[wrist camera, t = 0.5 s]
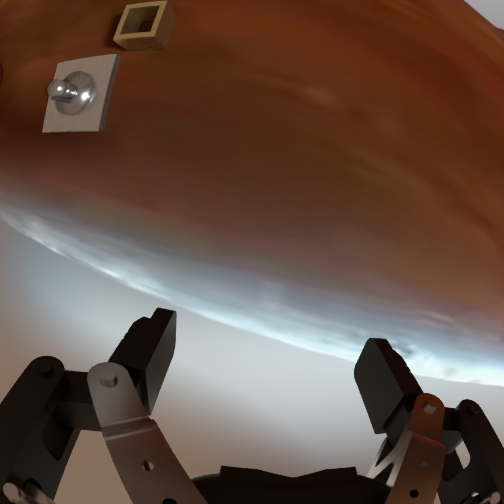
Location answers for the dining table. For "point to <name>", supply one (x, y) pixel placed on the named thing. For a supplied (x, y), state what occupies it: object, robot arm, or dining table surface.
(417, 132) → the dining table surface
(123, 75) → the dining table surface
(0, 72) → the frying pan
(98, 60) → the shaft stand
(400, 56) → the dining table surface
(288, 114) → the dining table surface
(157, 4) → the box
